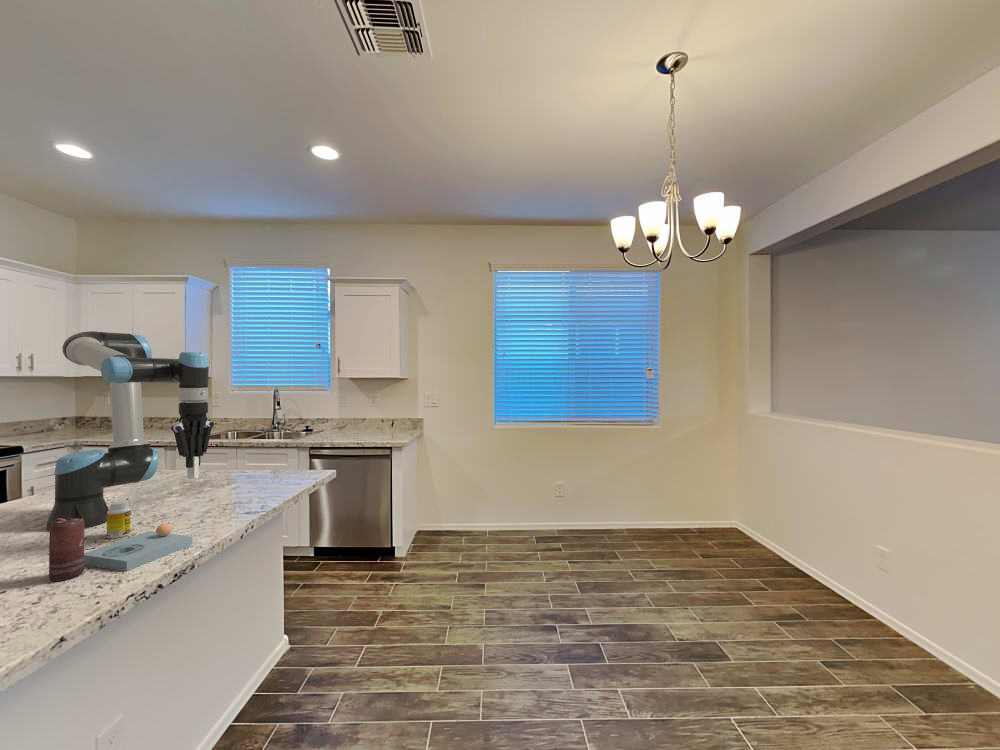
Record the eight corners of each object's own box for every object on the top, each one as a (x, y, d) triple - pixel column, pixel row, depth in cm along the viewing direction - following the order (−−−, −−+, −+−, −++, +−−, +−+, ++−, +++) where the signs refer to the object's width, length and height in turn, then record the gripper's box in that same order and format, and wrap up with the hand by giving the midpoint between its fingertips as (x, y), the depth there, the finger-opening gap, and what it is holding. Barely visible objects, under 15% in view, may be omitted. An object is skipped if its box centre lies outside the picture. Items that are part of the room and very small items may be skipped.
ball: (152, 537, 128) (152, 525, 128) (165, 533, 131) (165, 521, 131) (162, 538, 127) (162, 526, 127) (174, 534, 130) (174, 522, 130)
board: (79, 564, 115) (79, 554, 115) (149, 539, 133) (149, 531, 133) (126, 571, 111) (126, 561, 111) (192, 544, 129) (192, 536, 129)
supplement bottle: (127, 537, 134) (127, 503, 134) (103, 540, 132) (104, 505, 132) (132, 531, 139) (133, 499, 139) (110, 534, 137) (110, 501, 137)
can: (63, 571, 111) (63, 515, 111) (90, 570, 112) (91, 515, 112) (40, 582, 105) (41, 523, 105) (69, 581, 105) (69, 522, 106)
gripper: (183, 402, 131) (183, 483, 130) (221, 400, 143) (220, 473, 143) (163, 402, 132) (162, 481, 132) (202, 400, 145) (202, 472, 145)
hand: (193, 477), depth 138 cm, fingers closed
